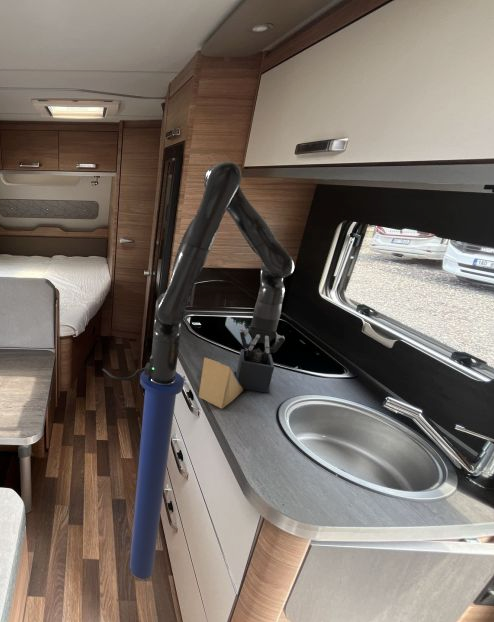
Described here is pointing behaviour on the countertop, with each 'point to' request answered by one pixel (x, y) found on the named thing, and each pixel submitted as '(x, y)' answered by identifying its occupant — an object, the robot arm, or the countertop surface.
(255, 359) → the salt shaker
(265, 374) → the trash bin
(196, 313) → the countertop surface
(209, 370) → the sandwich container
